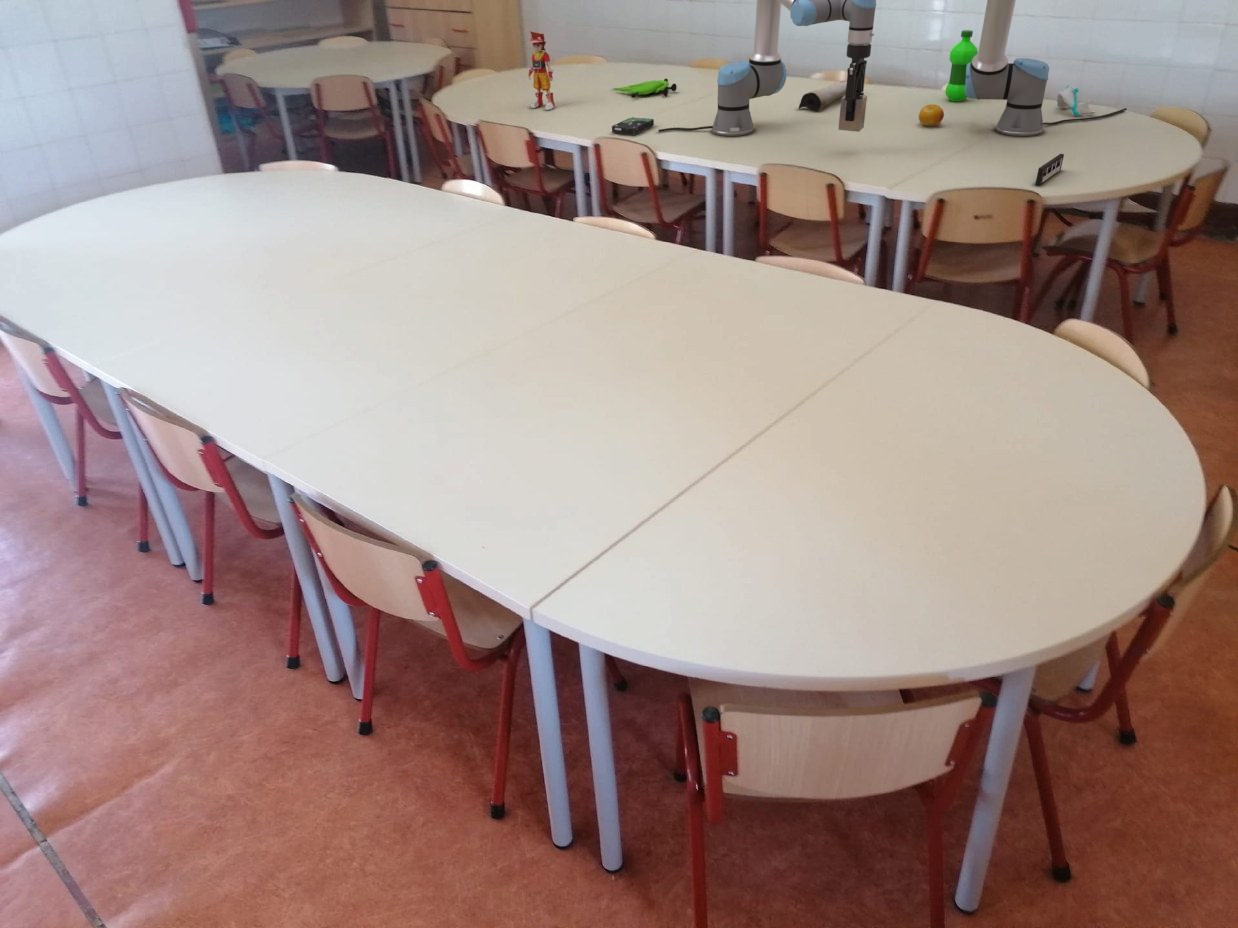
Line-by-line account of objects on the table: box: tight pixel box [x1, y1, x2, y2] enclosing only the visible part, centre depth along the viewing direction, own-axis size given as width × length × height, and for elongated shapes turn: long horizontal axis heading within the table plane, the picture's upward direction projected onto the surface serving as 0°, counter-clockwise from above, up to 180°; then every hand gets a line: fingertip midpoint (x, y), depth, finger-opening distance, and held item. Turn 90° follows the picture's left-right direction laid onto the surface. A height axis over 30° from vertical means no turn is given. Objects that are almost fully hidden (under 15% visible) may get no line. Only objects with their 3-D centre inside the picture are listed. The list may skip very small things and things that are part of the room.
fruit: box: [918, 104, 945, 127], centre depth 327 cm, size 8×8×8 cm
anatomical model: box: [1056, 84, 1096, 117], centre depth 331 cm, size 15×10×10 cm
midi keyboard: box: [1035, 153, 1065, 186], centre depth 273 cm, size 18×1×5 cm, turn 138°
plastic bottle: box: [945, 29, 979, 102], centre depth 350 cm, size 10×10×25 cm
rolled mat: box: [798, 80, 847, 112], centre depth 363 cm, size 30×9×10 cm
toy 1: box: [527, 31, 556, 111], centre depth 374 cm, size 12×9×30 cm
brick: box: [838, 95, 868, 133], centre depth 300 cm, size 7×5×10 cm
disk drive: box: [611, 116, 655, 136], centre depth 345 cm, size 10×3×15 cm
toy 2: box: [612, 78, 677, 99], centre depth 396 cm, size 28×5×30 cm
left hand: (852, 118), depth 301 cm, fingers closed on brick, 5 cm apart
